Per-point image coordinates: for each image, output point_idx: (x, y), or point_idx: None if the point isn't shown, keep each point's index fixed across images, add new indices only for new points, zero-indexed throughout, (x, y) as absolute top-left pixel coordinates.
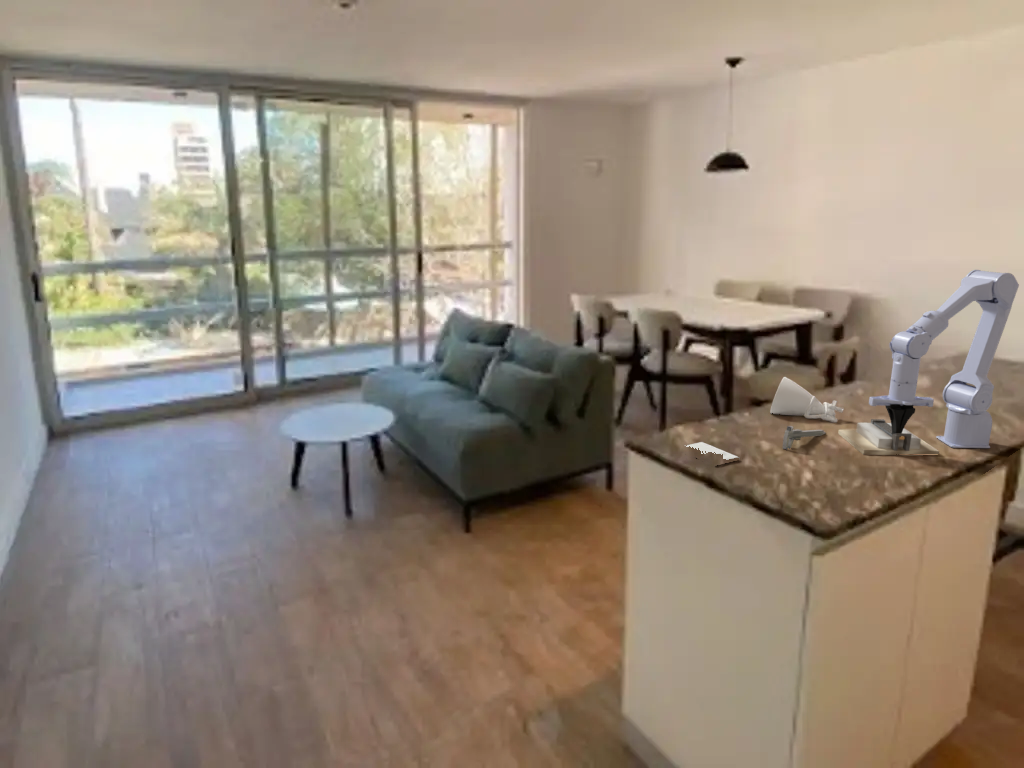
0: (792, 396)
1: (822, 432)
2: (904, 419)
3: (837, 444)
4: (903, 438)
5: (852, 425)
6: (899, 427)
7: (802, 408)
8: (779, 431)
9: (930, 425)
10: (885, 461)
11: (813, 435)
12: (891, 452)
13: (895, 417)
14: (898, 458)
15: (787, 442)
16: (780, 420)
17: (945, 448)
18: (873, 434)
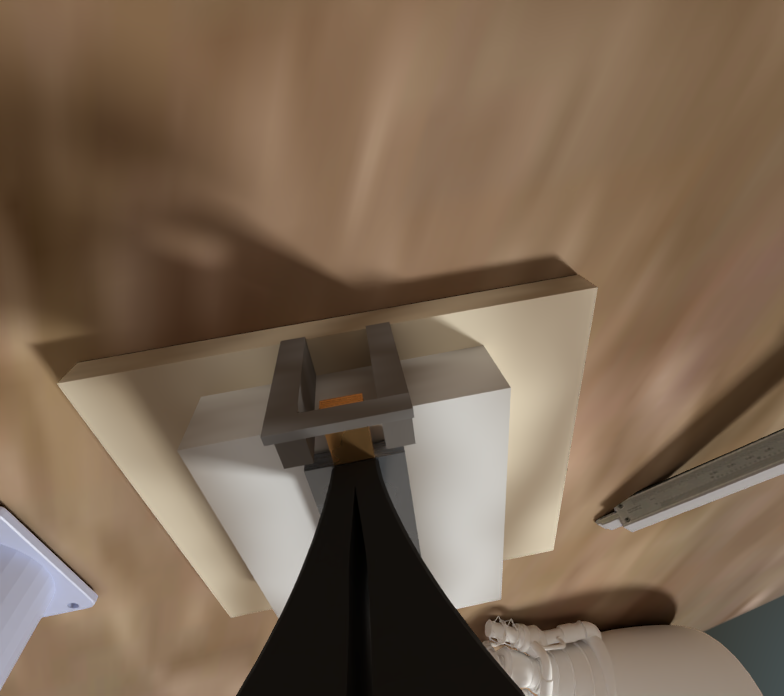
0: None
1: (629, 513)
2: (332, 608)
3: (627, 408)
4: (328, 406)
5: None
6: (364, 511)
7: (629, 663)
8: (775, 494)
9: (125, 687)
10: (488, 155)
11: (710, 465)
12: (401, 315)
13: (453, 612)
14: (368, 248)
15: None
16: (682, 586)
17: (41, 489)
18: (507, 460)
